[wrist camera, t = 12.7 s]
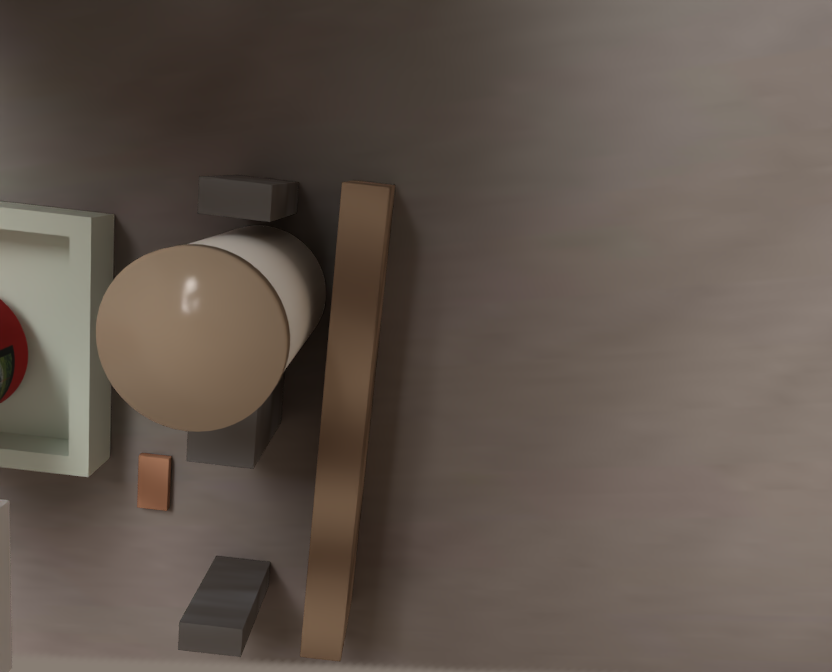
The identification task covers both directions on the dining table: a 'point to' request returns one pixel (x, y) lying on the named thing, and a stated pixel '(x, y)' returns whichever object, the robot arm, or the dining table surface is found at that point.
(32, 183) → the dining table surface
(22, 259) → the tray
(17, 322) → the beverage can
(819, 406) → the dining table surface
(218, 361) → the ceramic jar
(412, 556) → the dining table surface
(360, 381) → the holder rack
